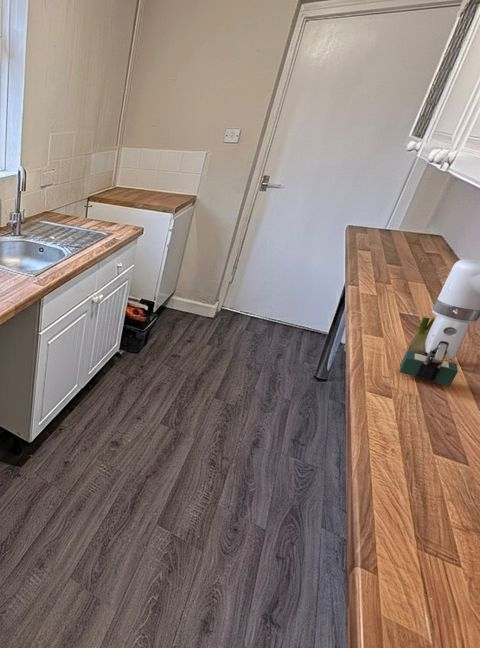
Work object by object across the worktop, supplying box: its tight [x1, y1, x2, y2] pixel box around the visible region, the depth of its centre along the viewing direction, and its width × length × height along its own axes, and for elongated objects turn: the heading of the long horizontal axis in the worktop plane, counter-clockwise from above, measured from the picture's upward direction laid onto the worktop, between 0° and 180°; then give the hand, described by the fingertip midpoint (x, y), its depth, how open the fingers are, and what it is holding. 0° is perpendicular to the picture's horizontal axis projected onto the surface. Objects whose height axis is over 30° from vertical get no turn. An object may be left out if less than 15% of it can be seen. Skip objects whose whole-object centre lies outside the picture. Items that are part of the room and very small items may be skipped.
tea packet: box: [399, 350, 459, 387], centre depth 106 cm, size 9×5×5 cm, turn 45°
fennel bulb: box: [408, 315, 436, 355], centre depth 117 cm, size 6×5×12 cm
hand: (424, 373), depth 106 cm, fingers closed on tea packet, 5 cm apart
